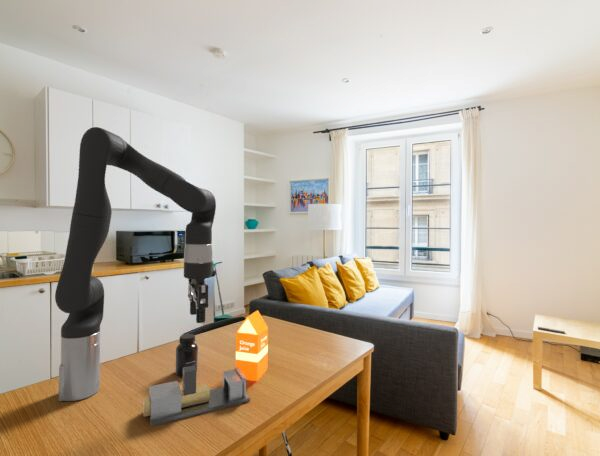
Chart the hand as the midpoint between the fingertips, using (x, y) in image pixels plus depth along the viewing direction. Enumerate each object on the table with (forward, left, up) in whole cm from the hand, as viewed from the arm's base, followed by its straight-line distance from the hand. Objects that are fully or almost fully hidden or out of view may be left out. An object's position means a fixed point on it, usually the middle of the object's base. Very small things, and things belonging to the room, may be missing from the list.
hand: (197, 318), depth 89 cm
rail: (+1, -3, -23) cm, 23 cm away
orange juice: (+19, +8, -23) cm, 31 cm away
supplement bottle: (0, +18, -23) cm, 29 cm away
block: (-5, -3, -22) cm, 22 cm away
